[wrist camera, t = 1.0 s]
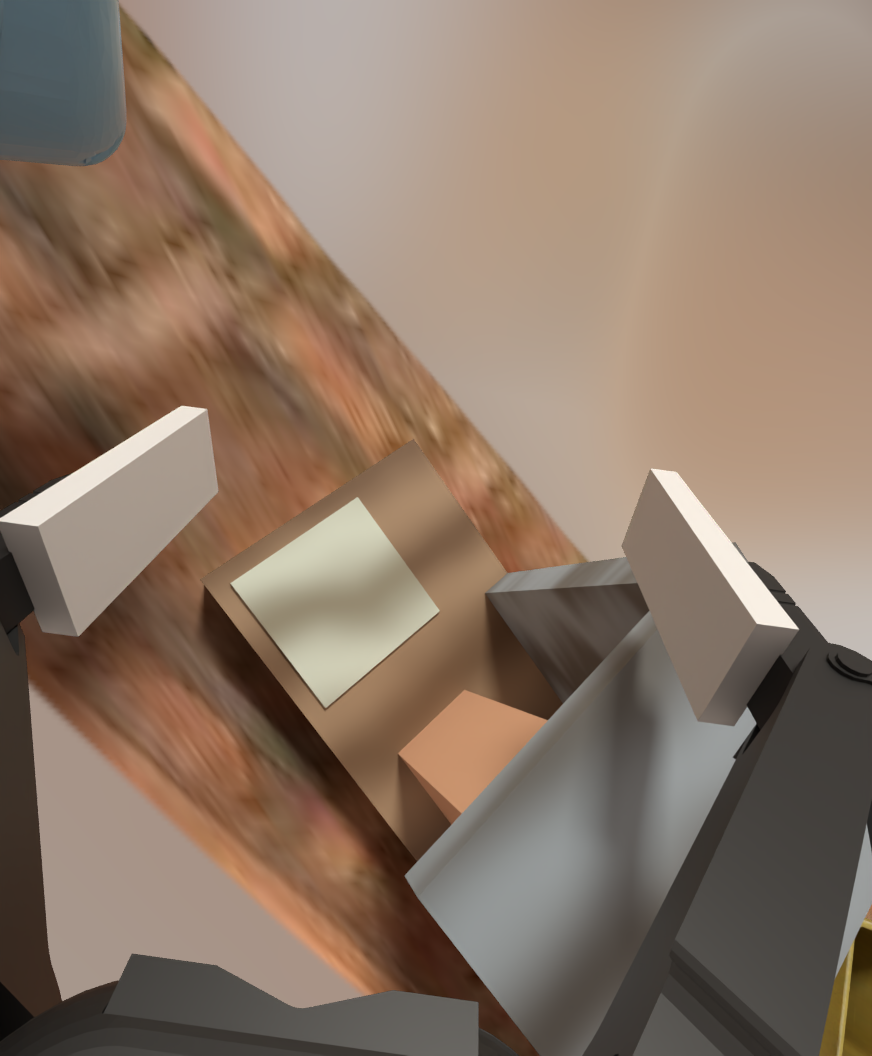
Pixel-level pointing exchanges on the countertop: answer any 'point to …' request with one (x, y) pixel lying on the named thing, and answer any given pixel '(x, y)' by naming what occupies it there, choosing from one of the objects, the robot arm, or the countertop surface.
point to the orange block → (467, 749)
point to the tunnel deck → (514, 680)
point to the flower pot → (851, 1001)
